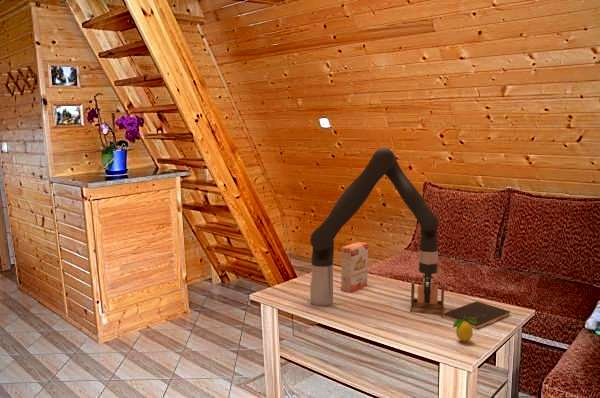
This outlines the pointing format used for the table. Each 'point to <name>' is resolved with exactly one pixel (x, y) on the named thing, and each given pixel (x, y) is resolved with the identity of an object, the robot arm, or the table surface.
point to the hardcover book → (476, 313)
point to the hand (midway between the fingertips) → (427, 300)
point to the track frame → (427, 307)
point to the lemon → (464, 328)
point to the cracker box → (354, 266)
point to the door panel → (432, 296)
